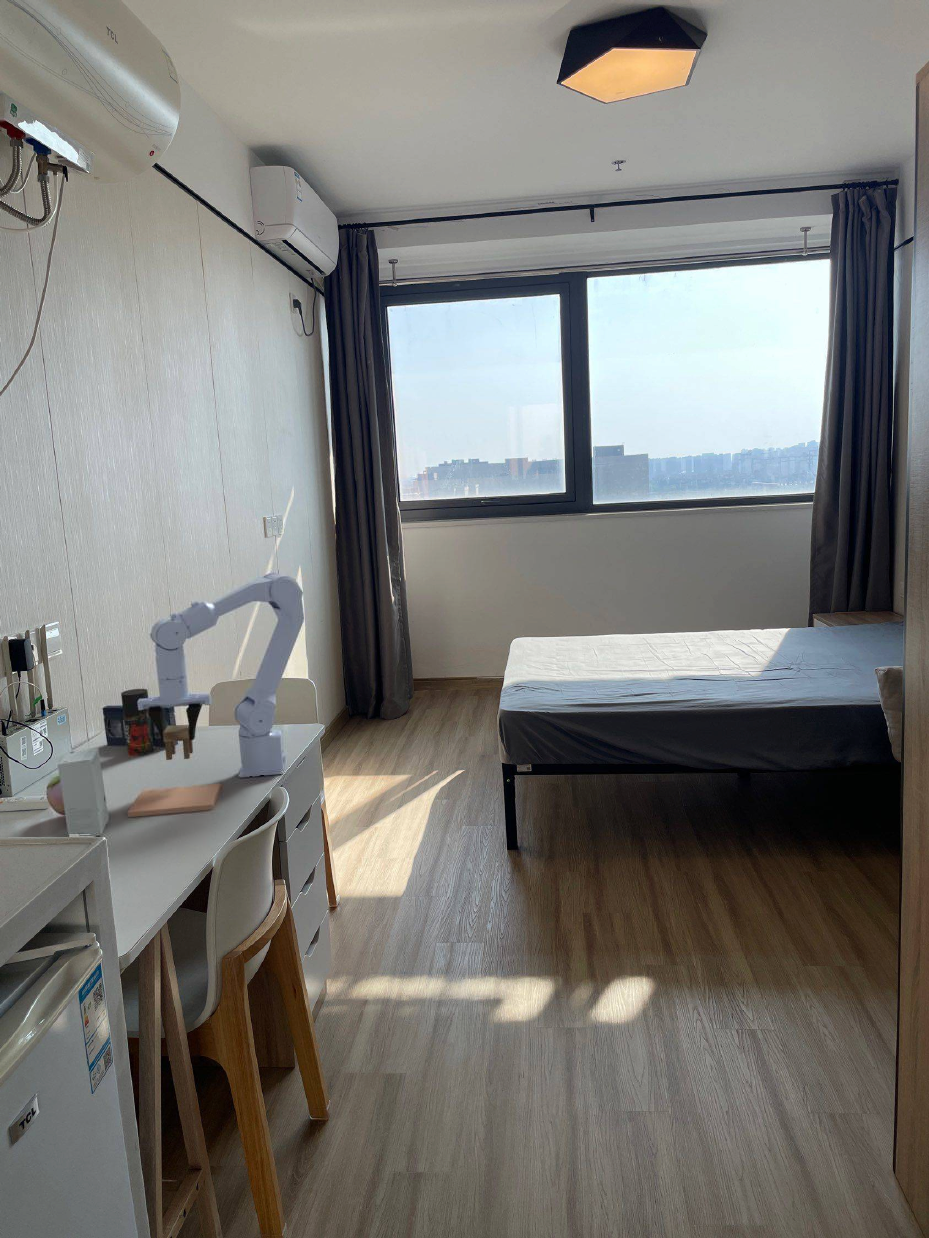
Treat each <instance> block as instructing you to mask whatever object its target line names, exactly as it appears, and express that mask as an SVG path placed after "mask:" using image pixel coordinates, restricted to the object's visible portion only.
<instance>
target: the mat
mask: <svg viewBox="0 0 929 1238" xmlns="http://www.w3.org/2000/svg"><path fill="white" fill-rule="evenodd" d="M221 789H222V786H221V783H212V784H202V785H201V784H200V785H199V784H198V785H190V786H189V785H188V786H178V787H170V788H169V787H167V788H155V789H142V790H141V791H140V792H139V794H138V795H137V797H136V799H135V800H134V802H133V803H132V804H131V807H130V808H129V810H128V811H127V817H128V818H135V817H144V816H156V815H164V814H165V815H166V814H176V813H177V814H179V813H187V812H197V811H208V810H209V811H210V810H213V809H214V807H215V804H216V801H217V799H218V796H219V794H220V791H221Z"/></svg>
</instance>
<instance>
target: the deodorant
mask: <svg viewBox="0 0 929 1238" xmlns="http://www.w3.org/2000/svg"><path fill="white" fill-rule="evenodd" d="M120 695H121V697H120V698H121V706H123V714H124V723H125V732H126V740H127V746H126V747H127V754H128V756H130V757H139V756H141V757H142V756H145V755H149V754H152V753H153V752H154V751H155V747H154V745H153V736H152V727H151V718H150V717H149V715H148V712H149V709H144V710H138V702H137V701H138V700H139V699H145V698H149V692H148V689H146V688H133V689H128V690H124V691H122V692H120Z"/></svg>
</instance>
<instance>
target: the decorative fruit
mask: <svg viewBox="0 0 929 1238" xmlns="http://www.w3.org/2000/svg"><path fill="white" fill-rule="evenodd" d="M45 795H46V800H47V802H48V804H49V806H50V807H51V808H52V810H53V811H54V812H55V813H57V814H59V815H62V816H64V817H66V816H65V810H64V803H63V796H62V790H61V783H60V776H59V775H57V776H55V777H54V778H52V779H51V780H50V781H49V783H48V784H47V786H46V793H45Z"/></svg>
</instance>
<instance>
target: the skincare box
mask: <svg viewBox="0 0 929 1238" xmlns="http://www.w3.org/2000/svg"><path fill="white" fill-rule="evenodd" d="M57 768H58V776H60V783H61V790H62V796H63V803H64V810H65V816H64V817H65V821H66V828H67V834H68V833H69V834H90V835H79V836H100V837H102V836H103V832H104V829H105V828H106V826H107V825H108V823H109V819H110V818H109V813H108V805H107V798H106V791H105V785H104V778H103V771H102V765H101V758H100V750H99V748H90V749H82V750H76V751H68V752H67V753H66V755H65V756H63V757H62V758H61V761H59V763H58V764H57ZM101 834H102V835H101Z"/></svg>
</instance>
